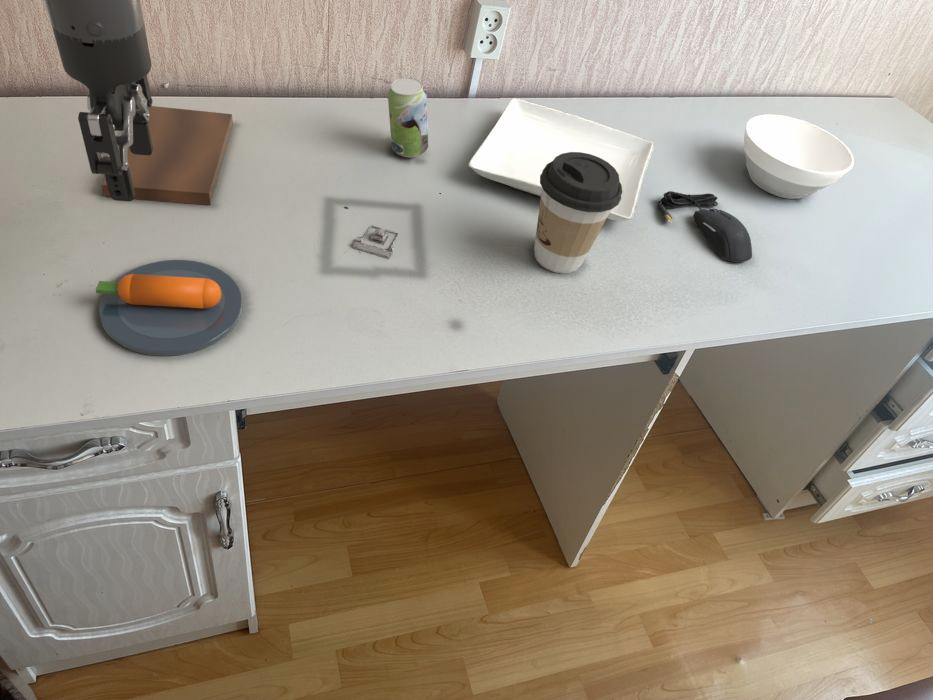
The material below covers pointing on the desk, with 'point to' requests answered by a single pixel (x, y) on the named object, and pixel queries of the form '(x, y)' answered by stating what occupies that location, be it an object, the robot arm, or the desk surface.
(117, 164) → the robot arm
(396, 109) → the beverage can
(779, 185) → the bowl
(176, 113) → the cutting board
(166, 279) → the carrot
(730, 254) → the computer mouse
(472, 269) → the desk surface
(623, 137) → the square plate
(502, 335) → the desk surface
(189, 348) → the slate plate
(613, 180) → the coffee cup
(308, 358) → the desk surface
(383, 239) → the metal mounting bracket
